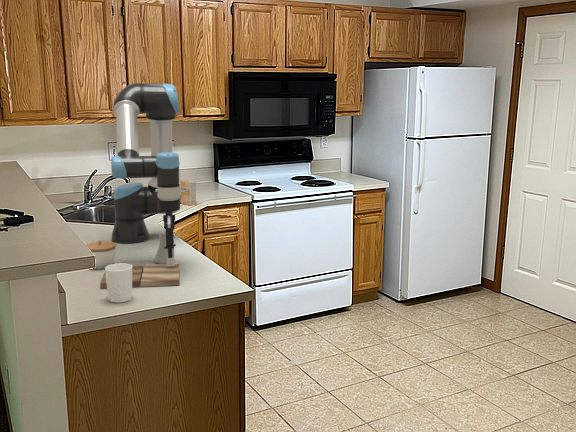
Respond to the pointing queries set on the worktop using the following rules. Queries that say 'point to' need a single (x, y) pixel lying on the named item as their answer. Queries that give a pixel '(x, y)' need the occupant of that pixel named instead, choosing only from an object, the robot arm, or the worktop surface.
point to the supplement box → (188, 192)
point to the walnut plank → (136, 277)
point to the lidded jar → (103, 253)
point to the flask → (161, 251)
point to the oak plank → (160, 275)
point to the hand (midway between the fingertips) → (170, 265)
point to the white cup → (119, 282)
